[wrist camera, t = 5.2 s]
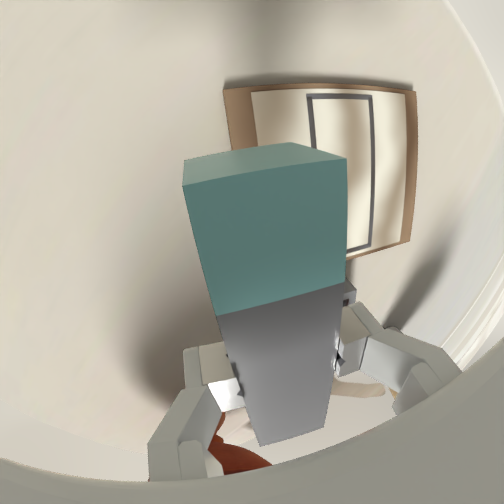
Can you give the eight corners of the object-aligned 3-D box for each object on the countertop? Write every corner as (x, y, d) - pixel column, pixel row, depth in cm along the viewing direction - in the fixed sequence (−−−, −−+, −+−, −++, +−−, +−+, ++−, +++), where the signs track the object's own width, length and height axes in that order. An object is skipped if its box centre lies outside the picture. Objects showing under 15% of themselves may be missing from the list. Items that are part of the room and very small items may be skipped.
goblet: (273, 414, 43) (320, 531, 21) (184, 444, 42) (208, 553, 21) (224, 366, 33) (280, 553, 11) (115, 406, 33) (124, 556, 11)
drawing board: (252, 281, 27) (254, 286, 27) (222, 90, 18) (224, 89, 18) (405, 238, 30) (410, 241, 30) (410, 91, 21) (417, 91, 21)
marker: (302, 380, 14) (323, 427, 11) (245, 396, 13) (259, 446, 10) (290, 141, 8) (346, 158, 5) (184, 160, 7) (181, 186, 5)
